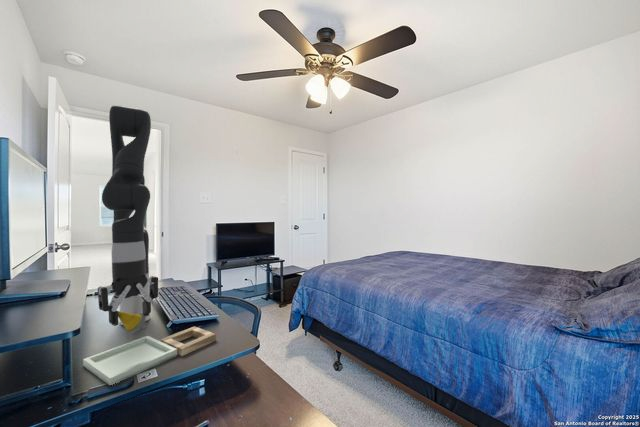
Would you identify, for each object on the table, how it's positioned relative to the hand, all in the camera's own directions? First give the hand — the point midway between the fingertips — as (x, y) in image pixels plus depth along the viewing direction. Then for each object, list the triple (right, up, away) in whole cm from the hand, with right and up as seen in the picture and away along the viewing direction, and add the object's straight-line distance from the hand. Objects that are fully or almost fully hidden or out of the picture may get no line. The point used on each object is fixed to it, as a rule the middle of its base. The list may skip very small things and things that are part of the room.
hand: (131, 320), depth 77 cm
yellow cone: (0, -4, 0) cm, 4 cm away
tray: (0, -11, 0) cm, 11 cm away
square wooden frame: (+11, -11, +10) cm, 18 cm away
